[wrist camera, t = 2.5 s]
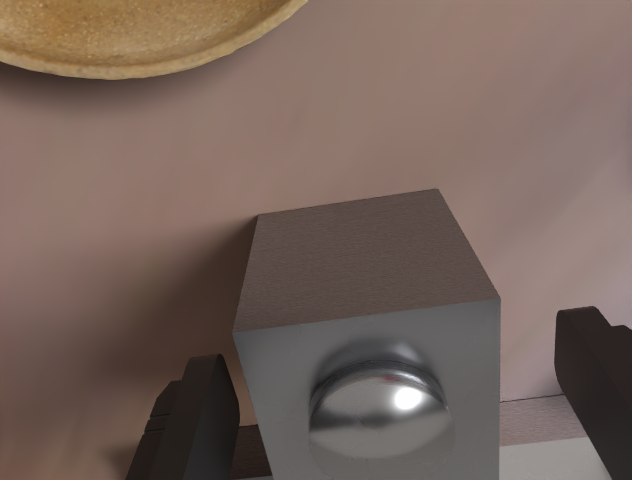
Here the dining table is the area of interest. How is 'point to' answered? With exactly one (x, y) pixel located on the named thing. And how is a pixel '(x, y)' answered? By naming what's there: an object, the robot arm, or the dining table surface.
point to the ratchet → (514, 447)
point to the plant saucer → (131, 34)
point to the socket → (371, 343)
